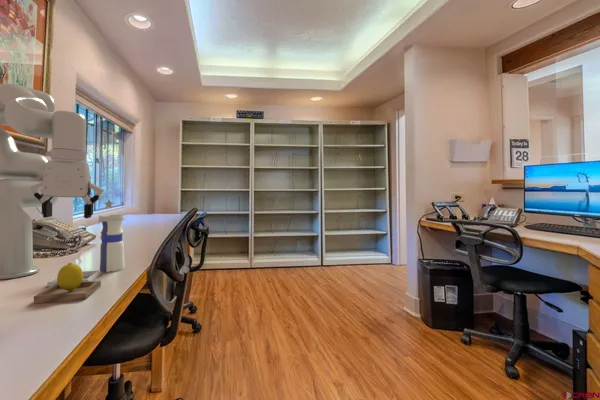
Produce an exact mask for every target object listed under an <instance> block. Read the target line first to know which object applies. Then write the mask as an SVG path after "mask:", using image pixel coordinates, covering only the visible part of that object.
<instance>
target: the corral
mask: <svg viewBox="0 0 600 400" xmlns="http://www.w3.org/2000/svg"><path fill="white" fill-rule="evenodd" d="M82 272H83V277H87V278H83V280H82V281H95V279H97V278H98V277H100V276H101V271H100V269H98V270H87V271H86V270H84V271H83V270H82ZM88 276H89V277H88ZM46 282H47V283H46V284H47V286H46V287H48V288H49V287H51V286H52V285H54V284H56V283H58V282H57V276H56V277H54V278H51V279H50V280H48V281H46Z"/></svg>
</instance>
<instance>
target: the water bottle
mask: <svg viewBox="0 0 600 400" xmlns="http://www.w3.org/2000/svg"><path fill="white" fill-rule="evenodd" d="M114 203H115V202H114V201H111V200H110V199H108V200H107V201H105V202H103V204H104V205H105V209H106V208H111V209H112V207H113V206H112V205H113V204H114ZM125 220H126V218H125V215H123V214H109V215H108V216H103V215H99V216H98V219H97V221H98V225H101V224H102V229H101V231H100V237H99V238H100V241H101V243H100V246H99V248H100V249H99V270H100V273H101V272H102V273H111V272H110V271H114V272H118V271H123V270H124V269H125V268H126V265H125V248H124V247H125V246H124V245H125V244H124V240H123V234H124V230H123V227H122V226H123V225H122V224H123V221H125ZM122 269H123V270H122Z"/></svg>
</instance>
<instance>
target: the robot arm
mask: <svg viewBox="0 0 600 400" xmlns="http://www.w3.org/2000/svg"><path fill="white" fill-rule="evenodd" d="M55 109H56V104H55V100H54V98H53V97H52V96H51V95H50V94H49V93H47V92H45V91H42V90H37V89H34V88H30V87H27V86H23V85H19V84H13V83H4V84H0V126H7V127H10V128H12V129H13V130H14V131H15V132H17V133H19V134H22V135H24V136H28V137H35V138H41V139H42V138H44V139H49V140H51V149H50V150H49V151H48V150H47V151H45V156H46V157H50V159H49V160H48V159H47V158H46V157H45V156H44V155H42V154H38V153H35V152H34V153H33V152H23V151H21V150H19V149H18V146H17V144H16V141H15V139H14V137H12V136H11V135H10V133H8V132H7V131H6V130H5V129H4V128H2V127H0V280H6V279H7V280H8V279H16V278H21V277H25V276H31V275H34V274H36V273H38V272H39V271H40V268H39V267H38V266H35V265H34V259H33V258H34V251H33V248H34V246H33V245H34V244H33V242H34V241H33V240H34V239H33V235H34V234H33V233H34V232H33V220H32V217H31V216H30V215H29V214H28V213H27V212H26V211H25V210H24V208H41V214H42V218H43V219H44V218H45V219H47V218H51V217H53V205H55V204H56V203H57V202H58V199H59V198H75V199H77V198H81V199H82V200H83V201H84V202H85V204H84V205H83V207H84V208H83V210H84V211H83V218H84V219H90V218H92V216H93V215H94V204H96V203H97V201H99V200H100V199H101V197H102V196H103V194H104V192H105V189H104V188H102V187H100V186H98V185H96V184H94V183H92V179H91V178H92V177H91V170H90V167H89V163H88V162H86V157H87V156H86V153H87V150H86V149H87V145H86V144H87V119H86V117H85V116H84V115H83V114H82V113H77V112H74V111H67V110H55ZM92 190H93V191H95V194H94V196H91V194H92Z"/></svg>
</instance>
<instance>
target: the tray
mask: <svg viewBox="0 0 600 400" xmlns="http://www.w3.org/2000/svg"><path fill="white" fill-rule="evenodd" d="M101 286H102V280H100V279H99V280H98V279H97V280H93V281H82V283H81V284H80V285H79V286H78V287H77V288H75V289H74V290H73V291H72V292H69V291H67V290H64V289H62V288H60V286H59V285H58V283H56V284H54V285H52V286H49V287H48V288H46V289H44V290H43V291H40V292H39V293H37V294H36V295H34V296H33V304H35V305H36V304H37V305H38V304H48V303H62V302H73V301H85V300H87V299H88V298H89V297H90V296H92V295H93V294H94V293H96V291H97V290H98V289H100V288H101Z"/></svg>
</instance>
